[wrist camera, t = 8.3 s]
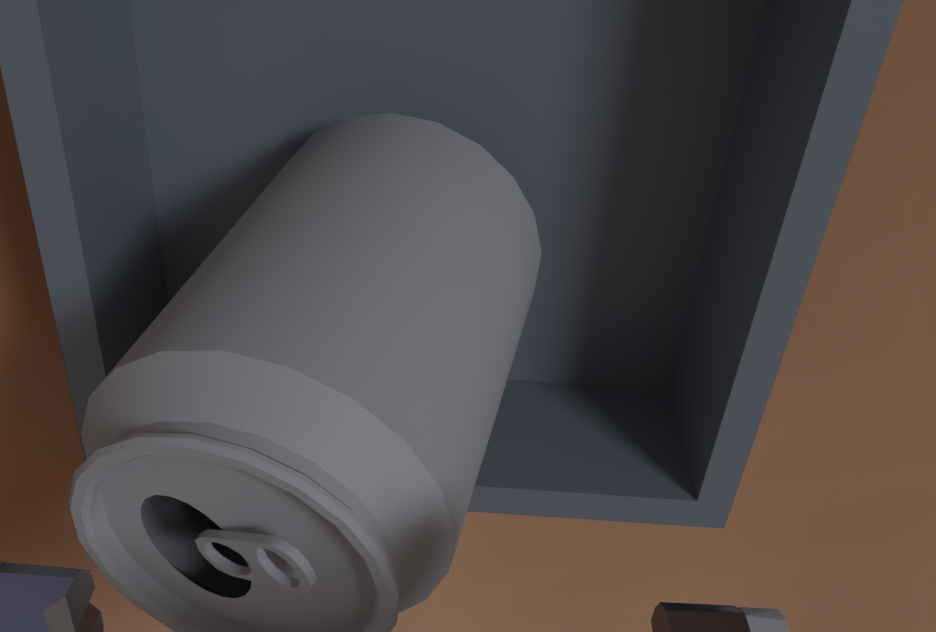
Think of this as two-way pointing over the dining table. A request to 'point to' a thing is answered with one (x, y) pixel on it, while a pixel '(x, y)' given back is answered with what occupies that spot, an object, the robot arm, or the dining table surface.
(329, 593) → the can
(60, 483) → the dining table surface
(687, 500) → the bin
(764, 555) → the dining table surface
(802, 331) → the dining table surface
